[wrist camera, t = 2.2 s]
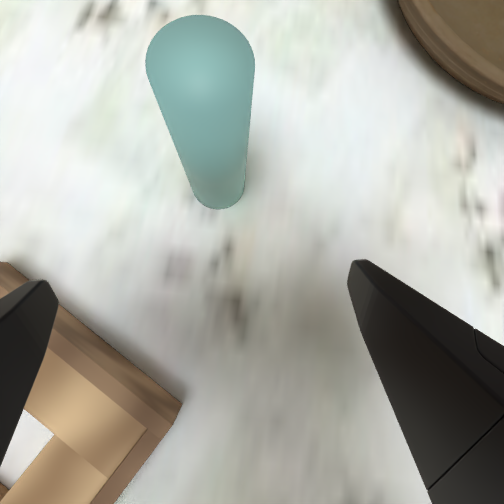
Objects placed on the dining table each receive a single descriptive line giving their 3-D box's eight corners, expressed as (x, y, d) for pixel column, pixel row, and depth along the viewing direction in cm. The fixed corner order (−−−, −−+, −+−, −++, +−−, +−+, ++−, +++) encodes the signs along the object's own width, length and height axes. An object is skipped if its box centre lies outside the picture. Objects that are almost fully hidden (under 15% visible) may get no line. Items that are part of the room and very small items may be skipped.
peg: (254, 180, 24) (276, 57, 12) (222, 219, 23) (209, 134, 11) (214, 149, 24) (193, -5, 12) (181, 187, 23) (122, 68, 11)
